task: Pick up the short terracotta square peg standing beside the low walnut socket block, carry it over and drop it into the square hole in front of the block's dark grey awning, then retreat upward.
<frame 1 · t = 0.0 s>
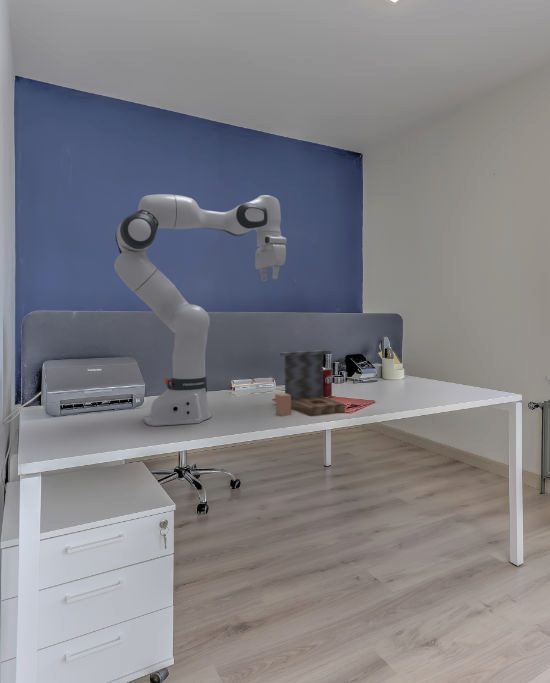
hand: (269, 279, 170), 48 cm above the table, fingers open, 8 cm apart
peg: (283, 414, 164), on the table
soda can: (323, 397, 196), on the table
socket block: (318, 410, 170), on the table
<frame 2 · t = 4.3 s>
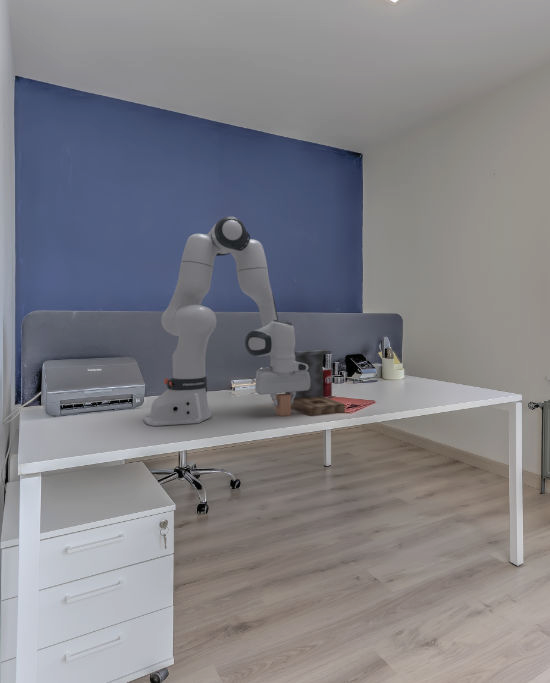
hand: (283, 404, 164), 3 cm above the table, fingers closed on peg, 4 cm apart
peg: (283, 414, 164), on the table, touching gripper
everything else where it was.
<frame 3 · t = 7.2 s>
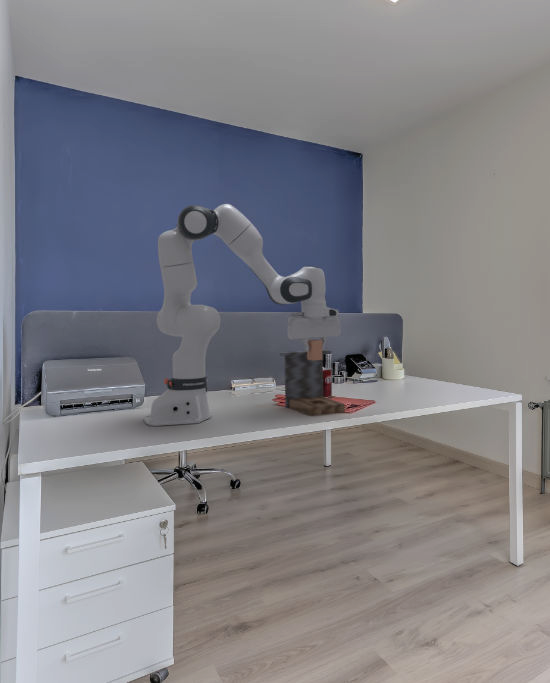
hand: (314, 350, 167), 22 cm above the table, fingers closed on peg, 4 cm apart
peg: (314, 359, 168), point 19 cm above the table, touching gripper
everything else where it was.
when the fingers open (5 cm above the table, at t = 10.2 s): peg drops 2 cm, resting in socket block.
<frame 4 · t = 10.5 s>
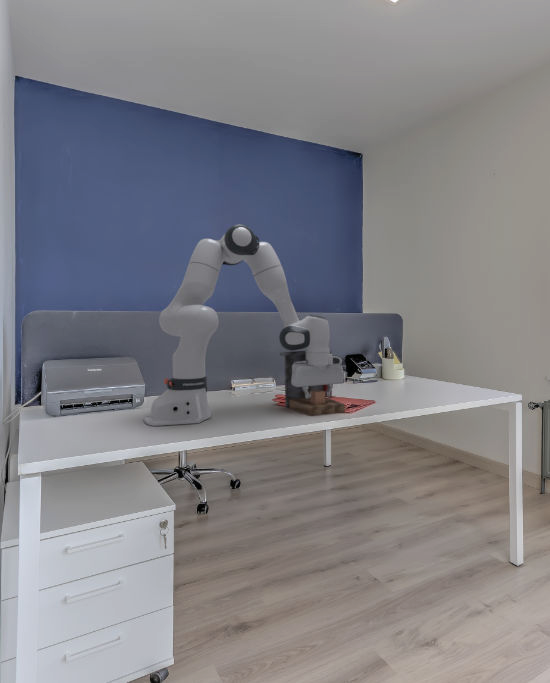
hand: (317, 397, 170), 5 cm above the table, fingers open, 7 cm apart
peg: (317, 410, 170), resting in socket block
everything else where it was.
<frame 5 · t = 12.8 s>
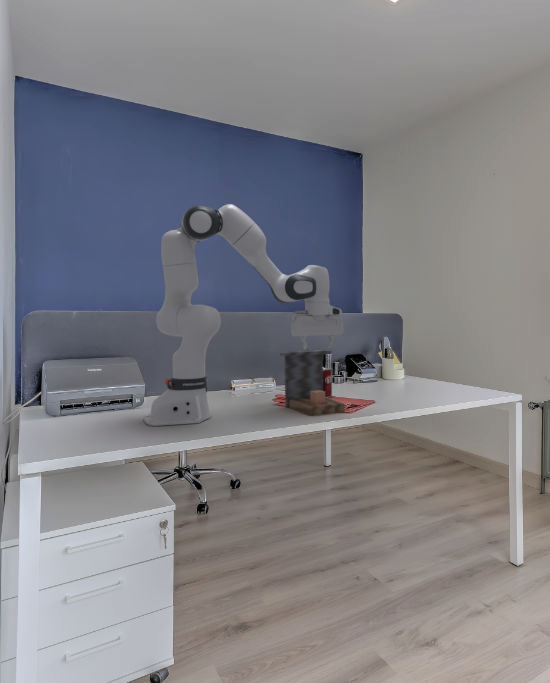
hand: (317, 348, 168), 23 cm above the table, fingers open, 8 cm apart
nothing on the table moved.
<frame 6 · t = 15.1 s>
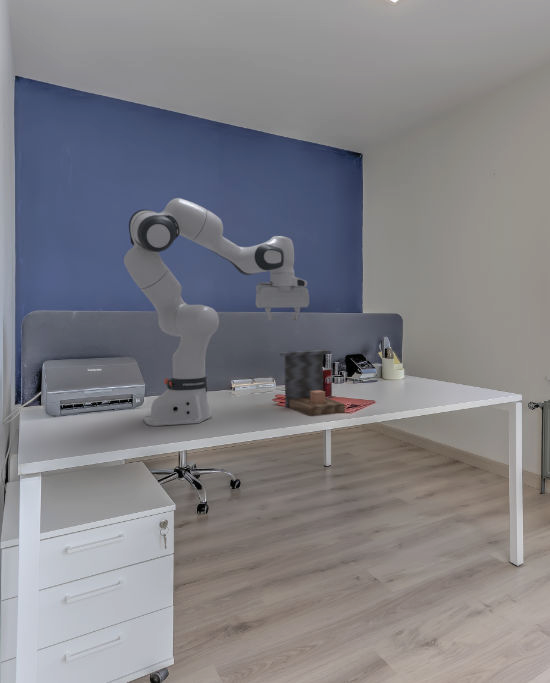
hand: (282, 320, 169), 33 cm above the table, fingers open, 8 cm apart
nothing on the table moved.
at the end: peg 0.1 cm off-centre on the socket block, point 0.0 cm above the socket block's base; peg tilted 0°; the gripper is holding nothing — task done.
